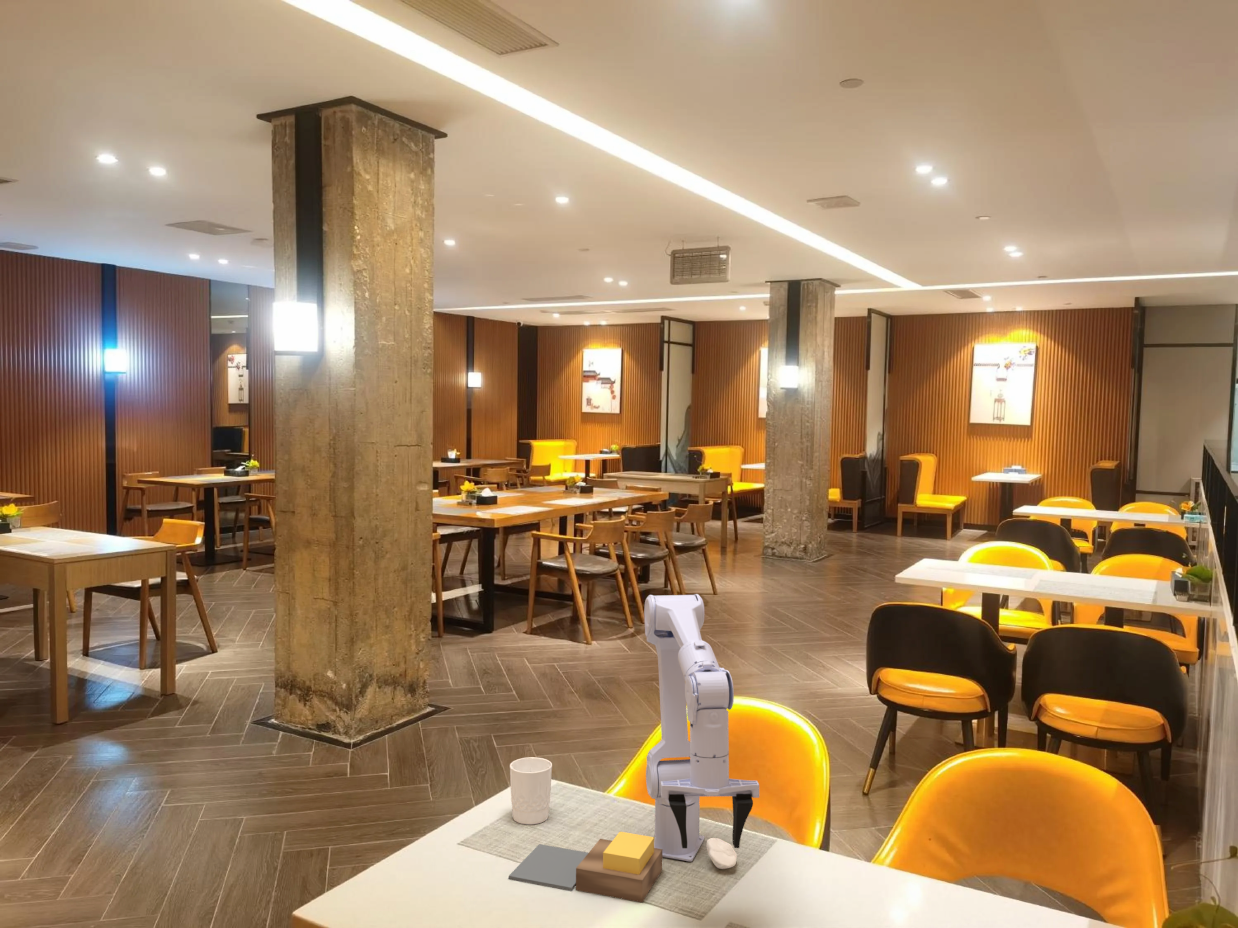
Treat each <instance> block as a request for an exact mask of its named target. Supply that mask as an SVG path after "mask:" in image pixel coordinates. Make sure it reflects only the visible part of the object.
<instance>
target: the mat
mask: <svg viewBox="0 0 1238 928" xmlns="http://www.w3.org/2000/svg"><path fill="white" fill-rule="evenodd" d="M588 853H589V852H587V851H582V850H581V851H580V850H575V849H571V848H564V847H559V846H553V845H546V844H541V843H539V844H538V845H536V847H535V848H533V850H532V851H531V852H530V853H529V854H528V855H527V856H526V857H525V858H524V859H523V860H522V861H521V862H520V863H519V865H518V866H517V867H516V868H515V869H513V870H512V872H511V873H510V874H509V875H508V880H513V881H518V882H523V883H528V884H534V885H538V886H544V887H548V888H549V887H550V888H554V889H559V890H564V891H570V892H572V891H573V890H574V889H575V888H576V868H577V866H578V865H579V864H580V863H581V862H582V860H583V859H584V858H585V857H586V855H587V854H588Z"/></svg>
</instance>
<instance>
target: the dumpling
mask: <svg viewBox="0 0 1238 928" xmlns="http://www.w3.org/2000/svg"><path fill="white" fill-rule="evenodd" d="M732 845H733V844H730V843H729V842H726V841H725V840H723V839H721V838H718V837H710V838H707V840H706V852H707V854H708V857H709V859H710V860H711V861H712V864H714V866H715V867H716V868H717V869H719V870H726V869H730V868H733V867H734V866H735V865H736V863H737V861H738V855H737V854H739V853H737V852H736V851H735V848H734V846H732Z"/></svg>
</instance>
